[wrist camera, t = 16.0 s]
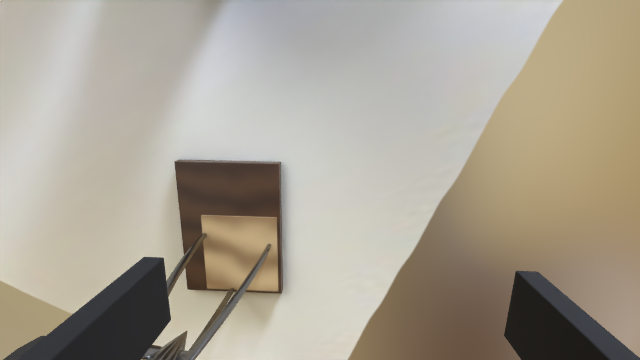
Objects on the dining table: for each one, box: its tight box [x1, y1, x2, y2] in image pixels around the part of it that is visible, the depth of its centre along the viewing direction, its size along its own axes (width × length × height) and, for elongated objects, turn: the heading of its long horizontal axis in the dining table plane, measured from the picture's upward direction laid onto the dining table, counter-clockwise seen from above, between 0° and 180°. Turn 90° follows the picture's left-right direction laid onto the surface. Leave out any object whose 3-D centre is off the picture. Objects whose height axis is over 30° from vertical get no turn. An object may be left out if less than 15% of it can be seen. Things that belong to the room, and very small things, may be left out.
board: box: [175, 160, 283, 293], centre depth 51 cm, size 22×16×2 cm
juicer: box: [141, 233, 271, 360], centre depth 36 cm, size 10×11×30 cm
